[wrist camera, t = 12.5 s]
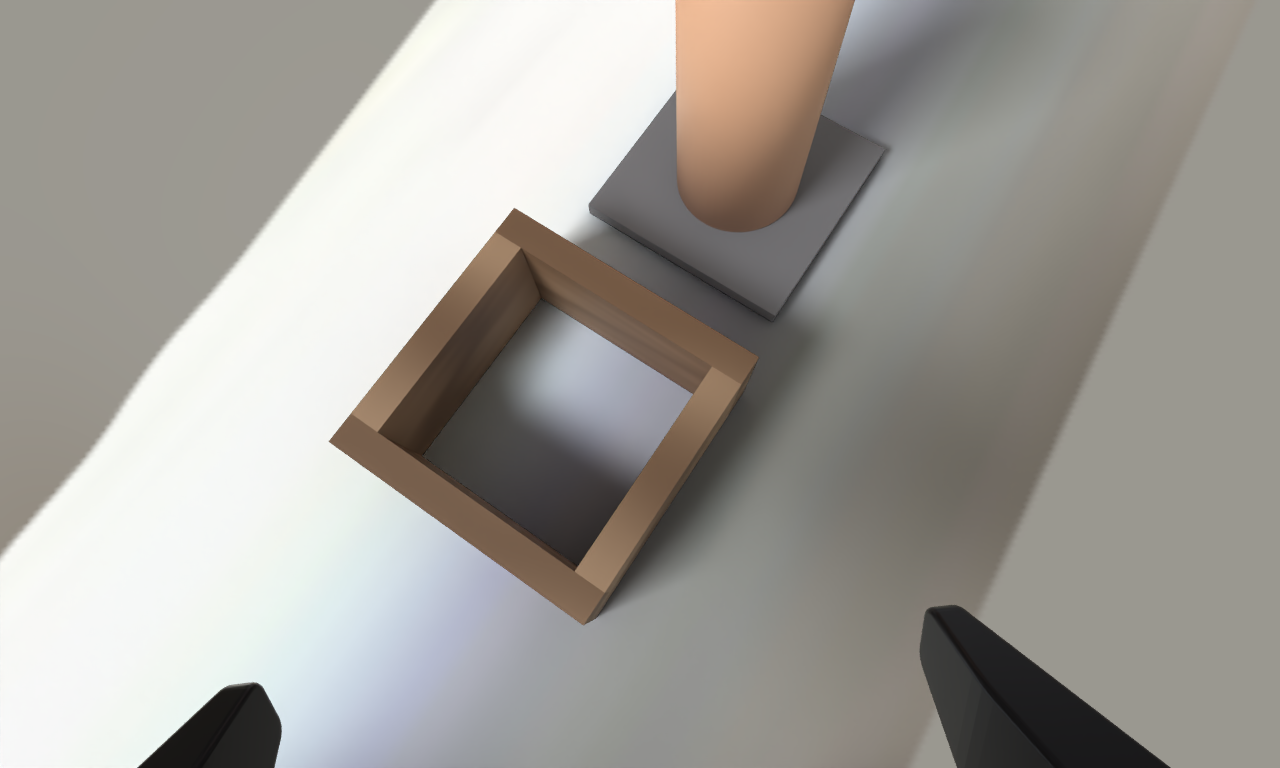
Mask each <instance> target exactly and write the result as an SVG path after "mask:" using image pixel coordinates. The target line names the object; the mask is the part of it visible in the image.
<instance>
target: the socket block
mask: <svg viewBox="0 0 1280 768" xmlns="http://www.w3.org/2000/svg"><path fill="white" fill-rule="evenodd" d="M541 298H542V299H544V300H545V301H547V302H548V303H550V304H551V305H553V306H555V307H556V308H558V309H559V310H561V311H563V312H564V313H566V314H567V315H569V316H570V317H572V318H574V319H575V320H577V321H578V322H580V323H582V324H583V325H585V326H586V327H588V328H589V329H591V330H593V331H594V332H596V333H597V334H599V335H601V336H602V337H604V338H605V339H607V340H608V341H610V342H612V343H613V344H615V345H616V346H618V347H620V348H621V349H623V350H624V351H626V352H627V353H629V354H631V355H632V356H634V357H635V358H637V359H639V360H640V361H642V362H643V363H645V364H646V365H648V366H650V367H651V368H653V369H654V370H656V371H658V372H659V373H661V374H662V375H664V376H665V377H667V378H669V379H670V380H672V381H673V382H675V383H676V384H678V385H680V386H681V387H683V388H684V389H686V390H688V391H689V392H691V393H692V394H693V396H692V397H691V399H690V400H689V402H688V403H687V405H686V406H685V408H684V409H683V411H682V412H681V414H680V415H679V417H678V418H677V420H676V421H675V423H674V424H673V425H672V427H671V428H670V430H669V431H668V433H667V434H666V436H665V437H664V439H663V440H662V442H661V443H660V445H659V446H658V448H657V449H656V451H655V452H654V454H653V455H652V457H651V458H650V460H649V461H648V463H647V464H646V466H645V467H644V469H643V470H642V472H641V473H640V475H639V476H638V478H637V479H636V481H635V482H634V484H633V485H632V487H631V488H630V490H629V491H628V493H627V494H626V496H625V497H624V499H623V500H622V502H621V503H620V504H619V506H618V507H617V509H616V510H615V512H614V513H613V515H612V516H611V518H610V519H609V521H608V522H607V524H606V525H605V527H604V528H603V530H602V531H601V533H600V534H599V536H598V537H597V539H596V540H595V542H594V543H593V545H592V546H591V548H590V549H589V551H588V552H587V554H586V555H585V557H584V558H583V560H582V561H581V563H580V564H579V566H577V565H575V564H574V563H573V562H571V561H570V560H568V559H567V558H566V557H564V556H563V555H561V554H560V553H558V552H557V551H556V550H554V549H553V548H551V547H550V546H549V545H547V544H546V543H544V542H543V541H541V540H540V539H539V538H537V537H536V536H534V535H533V534H532V533H530V532H529V531H527V530H526V529H524V528H523V527H522V526H520V525H519V524H517V523H516V522H514V521H513V520H512V519H510V518H509V517H507V516H506V515H505V514H503V513H502V512H500V511H499V510H497V509H496V508H495V507H493V506H492V505H490V504H489V503H488V502H486V501H485V500H483V499H482V498H480V497H479V496H478V495H476V494H475V493H473V492H472V491H471V490H469V489H468V488H466V487H465V486H463V485H462V484H461V483H459V482H458V481H456V480H455V479H453V478H452V477H451V476H449V475H448V474H446V473H445V472H444V471H442V470H441V469H439V468H438V467H436V466H435V465H434V464H432V463H431V462H429V461H428V460H427V459H425V458H424V457H422V455H423V454H424V453H425V451H426V450H427V449H428V447H429V446H430V445H431V443H432V442H433V441H434V439H435V438H436V437H437V435H438V434H439V433H440V431H441V430H442V429H443V428H444V426H445V425H446V424H447V422H448V421H449V420H450V418H451V417H452V416H453V414H454V413H455V412H456V410H457V409H458V408H459V406H460V405H461V404H462V402H463V401H464V400H465V398H466V397H467V396H468V394H469V393H470V392H471V390H472V389H473V388H474V386H475V385H476V384H477V383H478V381H479V380H480V379H481V377H482V376H483V375H484V373H485V372H486V371H487V369H488V368H489V367H490V365H491V364H492V363H493V361H494V360H495V359H496V357H497V356H498V355H499V353H500V352H501V351H502V349H503V348H504V347H505V345H506V344H507V343H508V342H509V340H510V339H511V338H512V336H513V335H514V334H515V332H516V331H517V330H518V328H519V327H520V326H521V324H522V323H523V322H524V320H525V319H526V318H527V316H528V315H529V314H530V312H531V311H532V310H533V308H534V307H535V306H536V304H537V303H538V302H539V300H540V299H541ZM758 359H759V357H758V356H756V355H755V354H753V353H751V352H750V351H748V350H746V349H745V348H743V347H742V346H740V345H738V344H737V343H735V342H733V341H732V340H730V339H728V338H727V337H725V336H724V335H722V334H720V333H719V332H717V331H715V330H714V329H712V328H710V327H709V326H707V325H705V324H704V323H702V322H701V321H699V320H697V319H696V318H694V317H692V316H691V315H689V314H687V313H686V312H684V311H683V310H681V309H679V308H678V307H676V306H674V305H673V304H671V303H669V302H668V301H666V300H664V299H663V298H661V297H660V296H658V295H656V294H655V293H653V292H651V291H650V290H648V289H646V288H645V287H643V286H642V285H640V284H638V283H637V282H635V281H633V280H632V279H630V278H628V277H627V276H625V275H623V274H622V273H620V272H619V271H617V270H615V269H614V268H612V267H610V266H609V265H607V264H605V263H604V262H602V261H601V260H599V259H597V258H596V257H594V256H592V255H591V254H589V253H587V252H586V251H584V250H582V249H581V248H579V247H578V246H576V245H574V244H573V243H571V242H569V241H568V240H566V239H564V238H563V237H561V236H560V235H558V234H556V233H555V232H553V231H551V230H550V229H548V228H546V227H545V226H543V225H541V224H540V223H538V222H537V221H535V220H533V219H532V218H530V217H528V216H527V215H525V214H523V213H522V212H520V211H519V210H517V209H515V208H514V209H513V210H512V211H511V213H510V214H509V215H508V217H507V218H506V219H505V220H504V222H503V223H502V224H501V225H500V227H499V228H498V229H497V230H496V232H495V233H494V234H493V235H492V237H491V238H490V239H489V240H488V242H487V243H486V244H485V245H484V247H483V248H482V249H481V250H480V252H479V253H478V254H477V256H476V257H475V258H474V259H473V261H472V262H471V263H470V264H469V266H468V267H467V268H466V269H465V271H464V272H463V273H462V274H461V276H460V277H459V278H458V279H457V281H456V282H455V283H454V284H453V286H452V287H451V288H450V290H449V291H448V292H447V293H446V295H445V296H444V297H443V298H442V300H441V301H440V302H439V303H438V305H437V306H436V307H435V308H434V310H433V311H432V312H431V313H430V315H429V316H428V317H427V318H426V320H425V321H424V322H423V324H422V325H421V326H420V327H419V329H418V330H417V331H416V332H415V334H414V335H413V336H412V337H411V339H410V340H409V341H408V342H407V344H406V345H405V346H404V347H403V349H402V350H401V351H400V352H399V354H398V355H397V356H396V357H395V359H394V360H393V361H392V363H391V364H390V365H389V366H388V368H387V369H386V370H385V371H384V373H383V374H382V375H381V376H380V378H379V379H378V380H377V381H376V383H375V384H374V385H373V386H372V388H371V389H370V390H369V391H368V393H367V394H366V395H365V397H364V398H363V399H362V400H361V402H360V403H359V404H358V405H357V407H356V408H355V409H354V410H353V412H352V413H351V414H350V415H349V417H348V418H347V419H346V420H345V422H344V423H343V424H342V425H341V427H340V428H339V429H338V431H337V432H336V433H335V434H334V436H333V437H332V438H331V439H330V441H329V442H330V443H331V444H333V445H334V446H335V447H337V448H338V449H340V450H341V451H342V452H344V453H345V454H347V455H348V456H349V457H351V458H352V459H353V460H355V461H356V462H358V463H359V464H360V465H362V466H363V467H365V468H366V469H367V470H369V471H370V472H371V473H373V474H374V475H376V476H377V477H378V478H380V479H381V480H383V481H384V482H385V483H387V484H388V485H390V486H391V487H392V488H394V489H395V490H396V491H398V492H399V493H401V494H402V495H403V496H405V497H406V498H408V499H409V500H410V501H412V502H413V503H414V504H416V505H417V506H419V507H420V508H421V509H423V510H424V511H426V512H427V513H428V514H430V515H431V516H432V517H434V518H435V519H437V520H438V521H439V522H441V523H442V524H444V525H445V526H446V527H448V528H449V529H451V530H452V531H453V532H455V533H456V534H457V535H459V536H460V537H462V538H463V539H464V540H466V541H467V542H469V543H470V544H471V545H473V546H474V547H475V548H477V549H478V550H480V551H481V552H482V553H484V554H485V555H487V556H488V557H489V558H491V559H492V560H493V561H495V562H496V563H498V564H499V565H500V566H502V567H503V568H505V569H506V570H507V571H509V572H510V573H512V574H513V575H514V576H516V577H517V578H518V579H520V580H521V581H523V582H524V583H525V584H527V585H528V586H530V587H531V588H532V589H534V590H535V591H536V592H538V593H539V594H541V595H542V596H543V597H545V598H546V599H548V600H549V601H550V602H552V603H553V604H554V605H556V606H557V607H559V608H560V609H561V610H563V611H564V612H566V613H567V614H568V615H570V616H571V617H573V618H574V619H575V620H577V621H578V622H579V623H581V624H582V625H585V624H587V623H589V622H590V621H592V620H594V619H596V618H597V616H598V614H599V613H600V611H601V610H602V608H603V607H604V605H605V604H606V602H607V601H608V599H609V598H610V596H611V595H612V593H613V591H614V590H615V588H616V587H617V585H618V584H619V582H620V581H621V579H622V578H623V576H624V575H625V573H626V572H627V570H628V568H629V567H630V565H631V564H632V562H633V561H634V559H635V558H636V556H637V555H638V553H639V552H640V550H641V549H642V547H643V545H644V544H645V542H646V541H647V539H648V538H649V536H650V535H651V533H652V532H653V530H654V529H655V527H656V526H657V524H658V522H659V521H660V519H661V518H662V516H663V515H664V513H665V512H666V510H667V509H668V507H669V506H670V504H671V503H672V501H673V499H674V498H675V496H676V495H677V493H678V492H679V490H680V489H681V487H682V486H683V484H684V483H685V481H686V480H687V478H688V477H689V475H690V473H691V472H692V470H693V469H694V467H695V466H696V464H697V463H698V461H699V460H700V458H701V457H702V455H703V454H704V452H705V450H706V449H707V447H708V446H709V444H710V443H711V441H712V440H713V438H714V437H715V435H716V434H717V432H718V431H719V429H720V427H721V426H722V424H723V423H724V421H725V420H726V418H727V417H728V415H729V414H730V412H731V411H732V409H733V408H734V406H735V404H736V403H737V401H738V400H739V398H740V397H741V395H742V394H743V392H744V390H745V388H746V385H747V383H748V381H749V379H750V376H751V374H752V372H753V370H754V368H755V365H756V363H757V361H758Z"/></svg>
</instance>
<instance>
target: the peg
mask: <svg viewBox="0 0 1280 768" xmlns="http://www.w3.org/2000/svg"><path fill="white" fill-rule="evenodd" d="M854 2H855V0H676V121H677V186H678V191H679V194H680V197H681V199H682V201H683V203H684V204H685V206H686V207H687V209H688V210H689V211H690V212H691V213H692V214H693V215H694V216H695V217H696V218H697V219H698V220H700V221H702V222H703V223H705V224H707V225H709V226H711V227H713V228H716V229H719V230H723V231H727V232H748V231H753V230H757V229H761V228H763V227H766V226H768V225H770V224H771V223H773V222H775V221H776V220H777V219H779V218H780V217H781V216H782V215H783V214H784V213H785V212H786V211H787V210H788V209H789V207H790V206H791V204H792V203H793V201H794V199H795V196H796V194H797V191H798V187H799V184H800V181H801V177H802V174H803V171H804V167H805V164H806V161H807V157H808V154H809V151H810V148H811V144H812V141H813V138H814V134H815V131H816V128H817V124H818V121H819V118H820V114H821V111H822V108H823V104H824V101H825V98H826V94H827V91H828V88H829V84H830V81H831V78H832V75H833V71H834V68H835V65H836V61H837V58H838V55H839V51H840V48H841V45H842V41H843V38H844V35H845V31H846V28H847V25H848V21H849V18H850V15H851V12H852V8H853V5H854Z"/></svg>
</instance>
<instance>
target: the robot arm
mask: <svg viewBox="0 0 1280 768" xmlns="http://www.w3.org/2000/svg"><path fill="white" fill-rule="evenodd" d="M920 660H921V664H922V667H923V671H924V673H925V676H926V679H927V682H928V685H929V688H930V691H931V694H932V697H933V700H934V702H935V705H936V708H937V711H938V714H939V717H940V720H941V723H942V726H943V728H944V731H945V734H946V737H947V740H948V743H949V746H950V749H951V752H952V755H953V758H954V760H955V763H956V766H957V768H1170V767H1169V766H1168V765H1166V764H1165V763H1164V762H1163V761H1161V760H1160V759H1159V758H1157V757H1156V756H1155V755H1153V754H1152V753H1151V752H1149V751H1148V750H1147V749H1146V748H1144V747H1143V746H1142V745H1140V744H1139V743H1138V742H1136V741H1135V740H1134V739H1133V738H1131V737H1130V736H1129V735H1127V734H1126V733H1125V732H1123V731H1122V730H1121V729H1119V728H1118V727H1117V726H1116V725H1114V724H1113V723H1112V722H1110V721H1109V720H1108V719H1106V718H1105V717H1104V716H1103V715H1101V714H1100V713H1099V712H1097V711H1096V710H1095V709H1094V708H1092V707H1091V706H1090V705H1088V704H1087V703H1086V702H1084V701H1083V700H1082V699H1080V698H1079V697H1078V696H1077V695H1075V694H1074V693H1073V692H1071V691H1070V690H1069V689H1067V688H1066V687H1065V686H1064V685H1062V684H1061V683H1060V682H1058V681H1057V680H1056V679H1054V678H1053V677H1052V676H1051V675H1049V674H1048V673H1046V672H1045V671H1044V670H1043V669H1041V668H1040V667H1039V666H1038V665H1036V664H1035V663H1034V662H1032V661H1031V660H1030V659H1028V658H1027V657H1026V656H1025V655H1023V654H1022V653H1021V652H1019V651H1018V650H1017V649H1015V648H1014V647H1013V646H1012V645H1010V644H1009V643H1008V642H1006V641H1005V640H1004V639H1002V638H1001V637H1000V636H998V635H997V634H996V633H995V632H993V631H992V630H991V629H989V628H988V627H987V626H985V625H984V624H983V623H982V622H980V621H979V620H978V619H976V618H975V617H974V616H972V615H971V614H970V613H969V612H967V611H966V610H965V609H963V608H962V607H959V606H957V605H947V606H938V607H931V608H929V609H927V611H926V612H925V616H924V622H923V629H922V636H921V642H920ZM281 732H282V729H281V722H280V719H279V716H278V714H277V713H276V711H275V709H274V707H273V705H272V703H271V701H270V700H269V698H268V696H267V694H266V692H265V690H264V688H263V687H262V686H261V685H260V684H258V683H254V682H252V683H243V684H234V685H229V686H227V687H225V688H223V689H222V690H220V691H219V692H218V693H217V694H216V695H215V696H214V697H213V698H211V699H210V700H209V701H208V702H207V703H206V704H205V705H204V706H203V707H202V708H201V709H200V710H199V711H198V712H196V713H195V714H194V715H193V716H192V717H191V718H190V719H189V720H188V721H187V722H186V723H185V724H184V725H183V726H181V727H180V728H179V729H178V730H177V731H176V732H175V733H174V734H173V735H172V736H171V737H170V738H169V739H168V740H167V741H165V742H164V743H163V744H162V745H161V746H160V747H159V748H158V749H157V750H156V751H155V752H154V753H153V754H152V755H150V756H149V757H148V758H147V759H146V760H145V761H144V762H143V763H142V764H141V765H140V766H139V767H138V768H274V767H275V762H276V758H277V754H278V749H279V745H280V740H281Z"/></svg>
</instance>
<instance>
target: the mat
mask: <svg viewBox="0 0 1280 768" xmlns="http://www.w3.org/2000/svg"><path fill="white" fill-rule="evenodd" d="M884 150H885V149H884V148H882V147H881V146H879V145H877V144H875V143H873V142H871V141H869V140H867V139H866V138H864V137H862V136H860V135H858V134H856V133H854V132H852V131H851V130H849V129H847V128H845V127H843V126H841V125H839V124H837V123H835V122H834V121H832V120H830V119H828V118H826V117H824V116H822V115H820V118H819V121H818V124H817V128H816V131H815V134H814V138H813V141H812V144H811V148H810V151H809V154H808V157H807V161H806V164H805V167H804V171H803V174H802V177H801V181H800V184H799V187H798V191H797V194H796V196H795V199H794V201H793V203H792V204H791V206H790V207H789V209H788V210H787V211H786V212H785V213H784V214H783V215H782V216H781V217H780V218H779V219H777V220H776V221H775V222H773V223H771V224H770V225H768V226H766V227H763V228H761V229H757V230H753V231H748V232H727V231H723V230H719V229H716V228H713V227H711V226H709V225H707V224H705V223H703V222H702V221H700V220H698V219H697V218H696V217H695V216H694V215H693V214H692V213H691V212H690V211H689V210H688V209H687V207H686V206H685V204H684V203H683V201H682V199H681V197H680V194H679V191H678V186H677V121H676V91H675V92H674V94H673V95H672V96H671V97H670V99H669V100H668V101H667V103H666V104H665V105H664V107H663V108H662V109H661V111H660V112H659V113H658V114H657V116H656V117H655V118H654V120H653V121H652V122H651V124H650V125H649V126H648V128H647V129H646V130H645V131H644V133H643V134H642V135H641V137H640V138H639V139H638V141H637V142H636V143H635V144H634V146H633V147H632V148H631V150H630V151H629V152H628V154H627V155H626V156H625V158H624V159H623V160H622V161H621V163H620V164H619V165H618V167H617V168H616V169H615V171H614V172H613V173H612V175H611V176H610V177H609V178H608V180H607V181H606V182H605V184H604V185H603V186H602V188H601V189H600V190H599V192H598V193H597V194H596V195H595V197H594V198H593V199H592V201H591V202H590V203H589V211H590V213H591V214H592V215H594V216H596V217H597V218H599V219H601V220H602V221H604V222H606V223H607V224H609V225H611V226H613V227H614V228H616V229H618V230H619V231H621V232H623V233H624V234H626V235H628V236H629V237H631V238H633V239H634V240H636V241H638V242H639V243H641V244H643V245H644V246H646V247H648V248H649V249H651V250H653V251H654V252H656V253H658V254H659V255H661V256H663V257H664V258H666V259H668V260H669V261H671V262H673V263H674V264H676V265H678V266H679V267H681V268H683V269H684V270H686V271H688V272H689V273H691V274H693V275H695V276H696V277H698V278H700V279H701V280H703V281H705V282H706V283H708V284H710V285H711V286H713V287H715V288H716V289H718V290H720V291H721V292H723V293H725V294H726V295H728V296H730V297H731V298H733V299H735V300H736V301H738V302H740V303H741V304H743V305H745V306H746V307H748V308H750V309H751V310H753V311H755V312H756V313H758V314H760V315H761V316H763V317H765V318H766V319H768V320H770V321H771V322H773V321H774V319H775V317H776V316H777V314H778V313H779V311H780V310H781V308H782V307H783V305H784V304H785V302H786V301H787V299H788V298H789V296H790V295H791V293H792V292H793V290H794V289H795V287H796V286H797V284H798V283H799V281H800V280H801V278H802V277H803V275H804V273H805V272H806V270H807V269H808V267H809V266H810V264H811V263H812V261H813V260H814V258H815V257H816V255H817V254H818V252H819V251H820V249H821V248H822V246H823V245H824V243H825V242H826V240H827V239H828V237H829V236H830V234H831V233H832V231H833V229H834V228H835V226H836V225H837V223H838V222H839V220H840V219H841V217H842V216H843V214H844V213H845V211H846V210H847V208H848V207H849V205H850V204H851V202H852V201H853V199H854V198H855V196H856V195H857V193H858V192H859V190H860V189H861V187H862V185H863V184H864V182H865V181H866V179H867V178H868V176H869V175H870V173H871V172H872V170H873V169H874V167H875V166H876V164H877V163H878V161H879V160H880V158H881V156H882V154H883V152H884Z"/></svg>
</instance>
